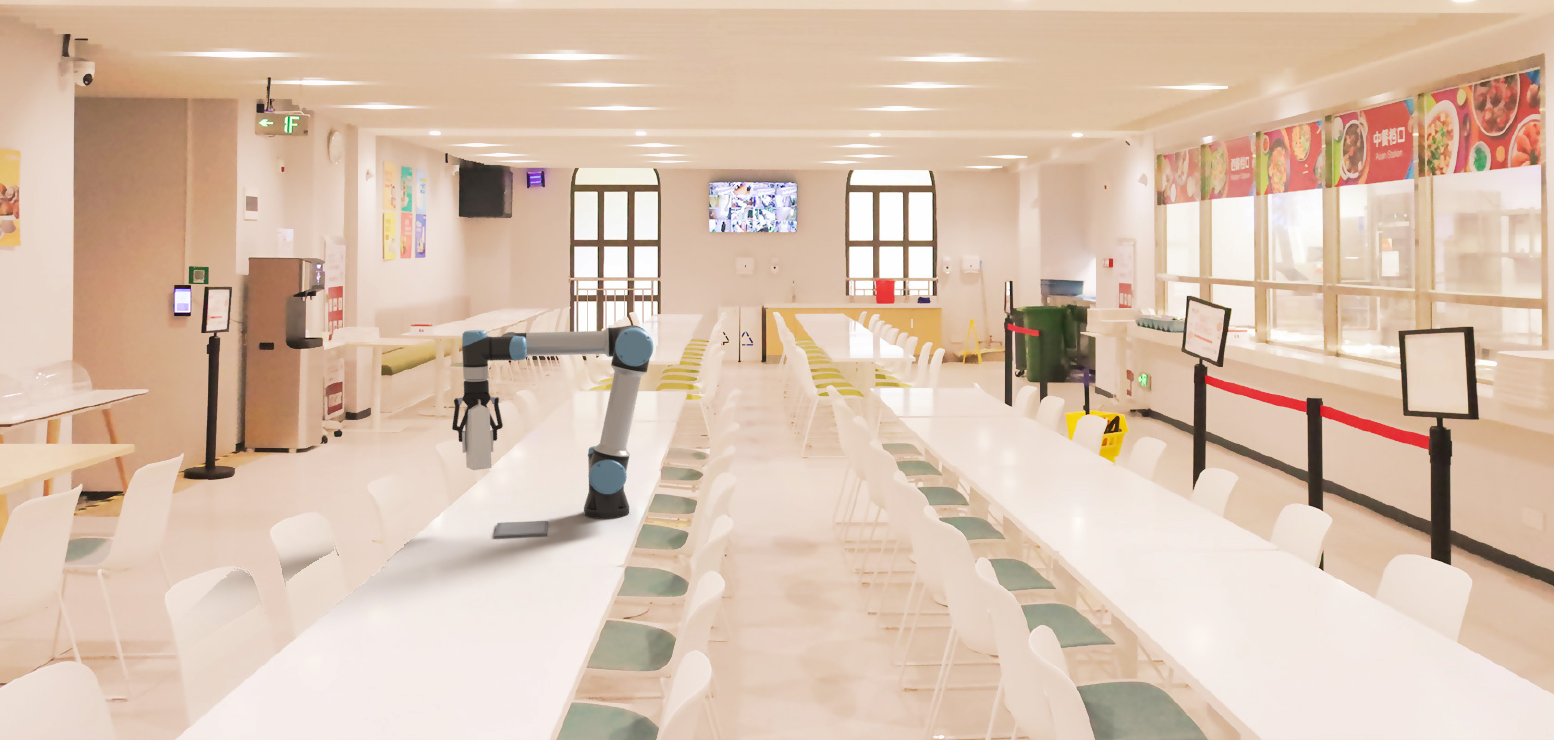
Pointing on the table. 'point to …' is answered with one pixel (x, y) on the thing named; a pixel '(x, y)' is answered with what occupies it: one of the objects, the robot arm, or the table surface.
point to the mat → (521, 529)
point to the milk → (478, 438)
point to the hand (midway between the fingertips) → (478, 451)
